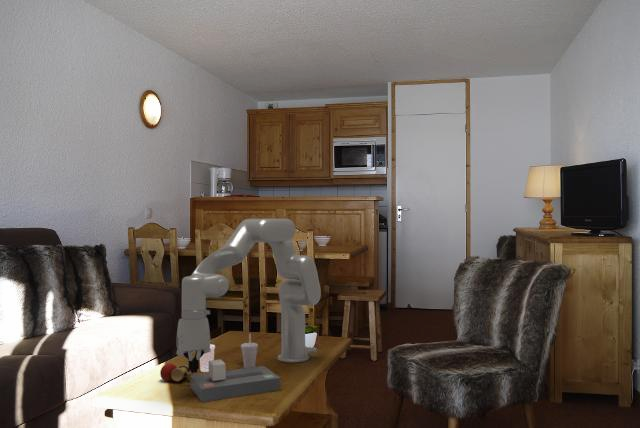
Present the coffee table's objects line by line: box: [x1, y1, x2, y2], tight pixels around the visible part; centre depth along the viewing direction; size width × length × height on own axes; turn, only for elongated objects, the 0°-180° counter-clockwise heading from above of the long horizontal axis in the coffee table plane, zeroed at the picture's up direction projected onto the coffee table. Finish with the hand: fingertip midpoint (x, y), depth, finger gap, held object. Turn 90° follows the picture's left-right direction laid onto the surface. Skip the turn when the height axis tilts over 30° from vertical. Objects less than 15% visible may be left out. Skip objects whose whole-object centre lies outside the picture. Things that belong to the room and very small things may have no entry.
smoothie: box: [240, 332, 259, 369], centre depth 202 cm, size 6×6×14 cm
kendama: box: [159, 363, 207, 382], centre depth 190 cm, size 8×6×18 cm
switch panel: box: [189, 365, 281, 403], centre depth 182 cm, size 26×19×4 cm
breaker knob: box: [208, 358, 226, 381], centre depth 178 cm, size 4×6×5 cm, turn 26°
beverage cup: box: [199, 343, 216, 373], centre depth 203 cm, size 6×6×14 cm
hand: (193, 371), depth 175 cm, fingers closed
